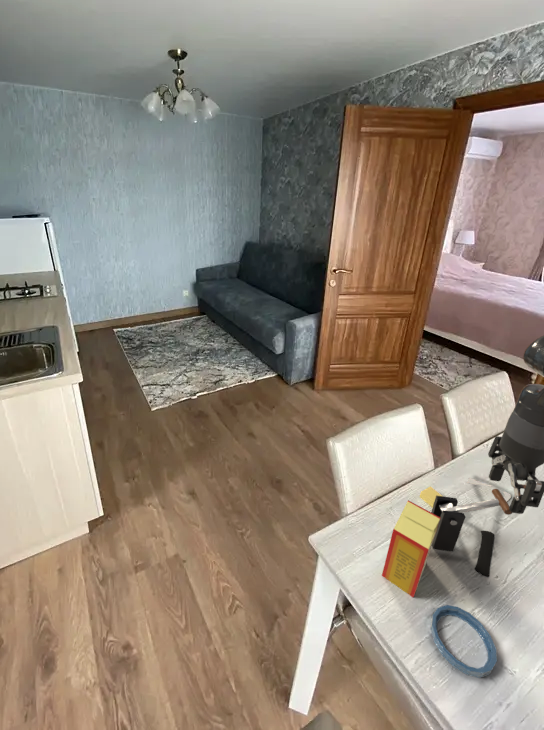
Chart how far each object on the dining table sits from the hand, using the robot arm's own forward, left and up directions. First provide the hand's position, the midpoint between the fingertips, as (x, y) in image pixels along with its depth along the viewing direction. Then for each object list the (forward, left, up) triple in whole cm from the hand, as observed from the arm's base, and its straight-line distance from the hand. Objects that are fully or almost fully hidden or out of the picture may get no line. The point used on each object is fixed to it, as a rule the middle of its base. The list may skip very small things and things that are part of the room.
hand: (503, 494), depth 75 cm
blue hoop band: (+13, +20, -18) cm, 30 cm away
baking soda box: (+20, +9, -18) cm, 28 cm away
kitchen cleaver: (-3, -8, -18) cm, 20 cm away
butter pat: (+8, -12, -18) cm, 23 cm away
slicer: (+10, 0, -18) cm, 20 cm away
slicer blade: (+5, 0, -6) cm, 7 cm away
